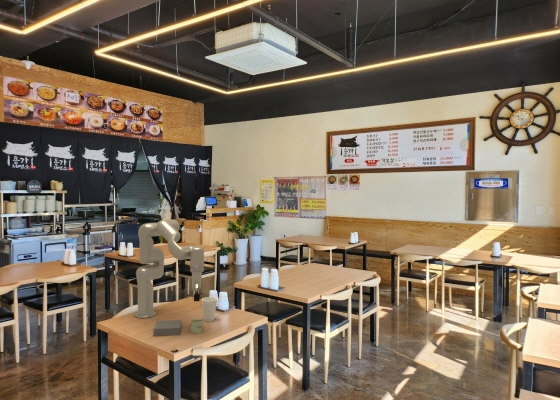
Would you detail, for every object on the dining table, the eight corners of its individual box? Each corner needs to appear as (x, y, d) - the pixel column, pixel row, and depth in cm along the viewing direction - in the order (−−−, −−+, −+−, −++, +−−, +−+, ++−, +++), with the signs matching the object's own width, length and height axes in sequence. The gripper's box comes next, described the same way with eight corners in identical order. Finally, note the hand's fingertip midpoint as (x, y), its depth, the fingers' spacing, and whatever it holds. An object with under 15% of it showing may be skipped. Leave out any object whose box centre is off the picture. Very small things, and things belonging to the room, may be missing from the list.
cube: (191, 329, 229) (191, 319, 228) (202, 329, 230) (202, 318, 230) (191, 333, 223) (191, 322, 223) (202, 332, 224) (202, 322, 224)
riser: (156, 327, 231) (156, 320, 231) (181, 326, 233) (181, 319, 233) (153, 336, 217) (153, 329, 217) (179, 334, 220) (179, 327, 220)
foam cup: (219, 319, 247) (220, 298, 247) (209, 323, 240) (209, 302, 239) (208, 316, 253) (209, 296, 252) (198, 320, 245) (198, 299, 245)
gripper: (191, 266, 233) (190, 295, 234) (189, 272, 216) (189, 303, 217) (204, 266, 235) (203, 294, 235) (203, 271, 218) (203, 302, 218)
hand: (197, 298), depth 226 cm, fingers open, 9 cm apart
